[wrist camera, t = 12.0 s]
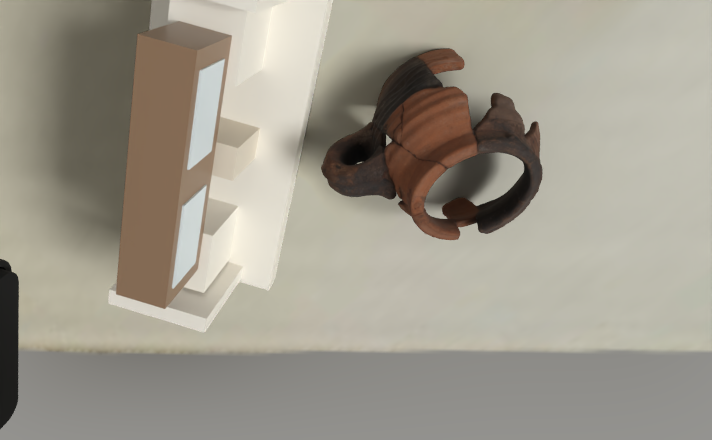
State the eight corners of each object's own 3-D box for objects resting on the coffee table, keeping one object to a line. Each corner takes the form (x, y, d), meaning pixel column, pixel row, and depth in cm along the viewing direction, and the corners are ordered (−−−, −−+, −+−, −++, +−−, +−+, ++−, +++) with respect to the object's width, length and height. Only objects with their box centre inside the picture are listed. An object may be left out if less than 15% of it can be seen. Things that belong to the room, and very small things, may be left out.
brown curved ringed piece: (499, 16, 36) (560, 103, 31) (506, 140, 43) (556, 229, 38) (294, 78, 37) (317, 176, 31) (333, 191, 44) (358, 288, 38)
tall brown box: (177, 20, 33) (135, 33, 29) (233, 36, 33) (199, 51, 29) (152, 255, 39) (114, 293, 35) (199, 269, 39) (166, 309, 35)
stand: (169, -62, 37) (94, -60, 30) (336, -17, 37) (301, -4, 29) (139, 239, 46) (76, 297, 39) (274, 279, 45) (236, 346, 38)
